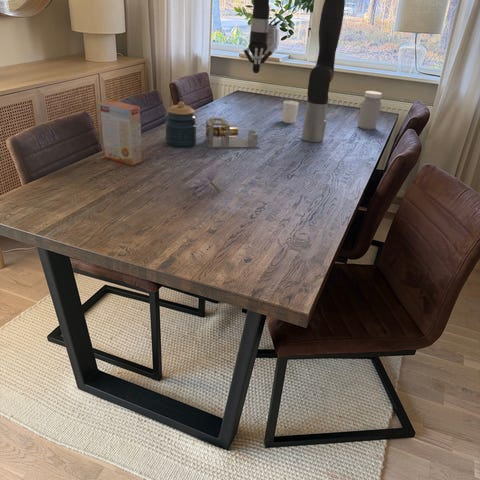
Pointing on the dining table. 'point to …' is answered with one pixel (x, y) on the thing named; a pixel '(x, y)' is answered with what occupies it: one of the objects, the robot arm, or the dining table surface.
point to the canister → (180, 126)
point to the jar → (369, 110)
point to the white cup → (290, 111)
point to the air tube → (223, 132)
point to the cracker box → (121, 132)
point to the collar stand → (225, 141)
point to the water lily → (206, 179)
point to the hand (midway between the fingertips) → (255, 72)
